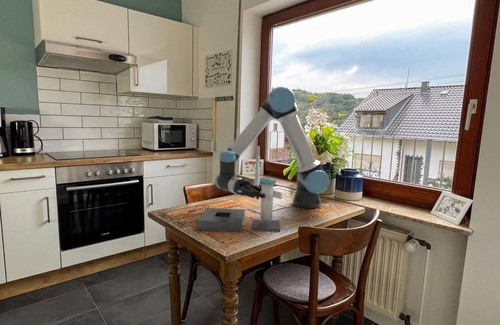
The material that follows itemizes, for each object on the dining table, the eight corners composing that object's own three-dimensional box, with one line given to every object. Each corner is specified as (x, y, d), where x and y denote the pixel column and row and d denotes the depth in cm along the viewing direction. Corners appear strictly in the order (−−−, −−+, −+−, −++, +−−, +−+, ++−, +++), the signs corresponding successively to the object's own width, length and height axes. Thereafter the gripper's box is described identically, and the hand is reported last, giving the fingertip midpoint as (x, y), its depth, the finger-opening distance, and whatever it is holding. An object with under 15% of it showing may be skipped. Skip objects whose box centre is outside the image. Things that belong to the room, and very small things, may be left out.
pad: (278, 222, 132) (278, 220, 132) (280, 231, 121) (280, 229, 121) (254, 221, 133) (254, 219, 133) (253, 230, 122) (253, 227, 122)
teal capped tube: (274, 216, 130) (275, 177, 127) (274, 221, 123) (276, 180, 121) (258, 215, 130) (259, 177, 128) (258, 220, 123) (259, 180, 121)
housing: (244, 217, 137) (245, 209, 137) (241, 232, 120) (241, 222, 119) (206, 216, 138) (206, 207, 138) (197, 230, 120) (197, 220, 120)
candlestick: (242, 193, 185) (243, 145, 181) (255, 189, 195) (256, 144, 191) (258, 196, 177) (259, 146, 173) (270, 193, 187) (272, 145, 182)
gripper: (253, 191, 145) (290, 202, 128) (224, 197, 133) (260, 209, 116) (254, 176, 144) (291, 185, 127) (224, 180, 132) (261, 190, 115)
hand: (276, 196), depth 121 cm, fingers closed on teal capped tube, 5 cm apart
